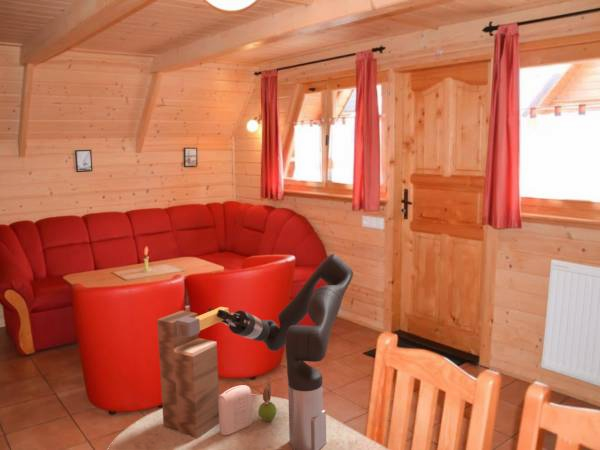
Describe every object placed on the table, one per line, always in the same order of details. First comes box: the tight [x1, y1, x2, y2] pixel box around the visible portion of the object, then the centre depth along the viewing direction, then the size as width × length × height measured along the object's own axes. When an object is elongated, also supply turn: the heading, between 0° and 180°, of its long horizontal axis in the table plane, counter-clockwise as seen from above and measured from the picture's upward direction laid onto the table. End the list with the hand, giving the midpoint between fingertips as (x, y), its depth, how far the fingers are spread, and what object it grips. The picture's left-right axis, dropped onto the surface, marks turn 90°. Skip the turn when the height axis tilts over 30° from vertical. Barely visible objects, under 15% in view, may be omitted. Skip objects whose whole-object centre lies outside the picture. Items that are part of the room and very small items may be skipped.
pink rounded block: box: [218, 384, 253, 436], centre depth 156 cm, size 10×4×12 cm, turn 134°
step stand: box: [156, 309, 220, 439], centre depth 157 cm, size 13×10×32 cm
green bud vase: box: [258, 376, 278, 422], centre depth 161 cm, size 5×6×12 cm
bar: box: [176, 306, 230, 337], centre depth 157 cm, size 5×18×4 cm, turn 148°
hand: (214, 312), depth 161 cm, fingers closed on bar, 3 cm apart
